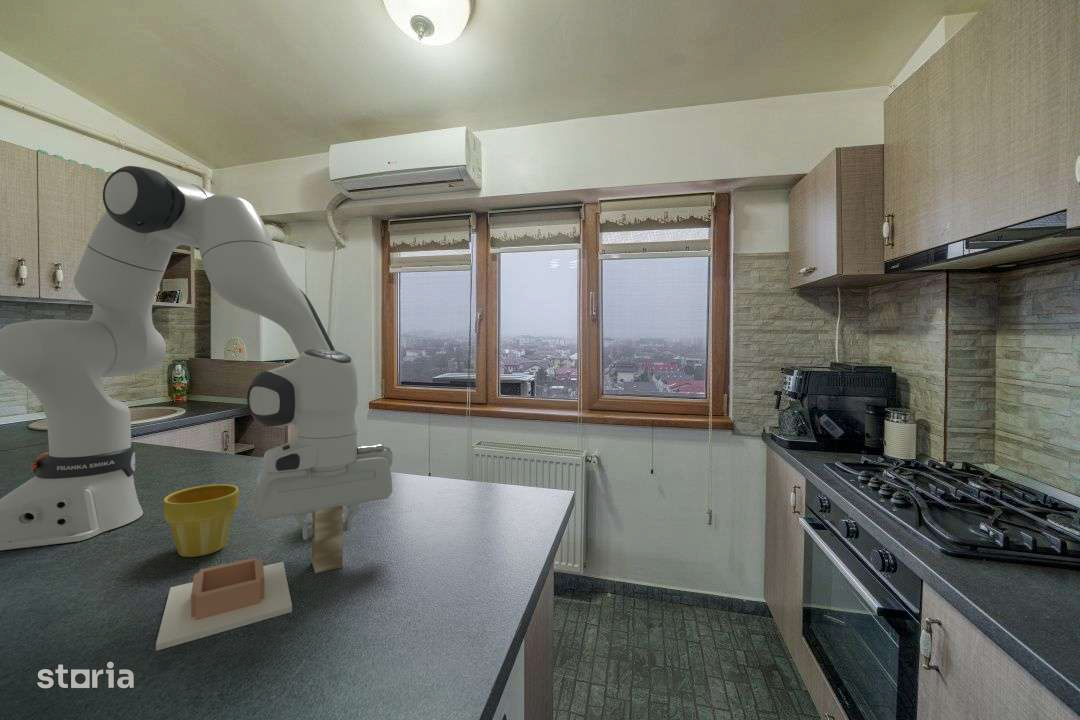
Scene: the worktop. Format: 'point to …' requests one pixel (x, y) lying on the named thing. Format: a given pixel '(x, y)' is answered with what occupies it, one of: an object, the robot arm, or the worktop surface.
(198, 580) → the framed base plate
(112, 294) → the robot arm
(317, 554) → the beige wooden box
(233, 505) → the plant pot
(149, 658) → the worktop surface
